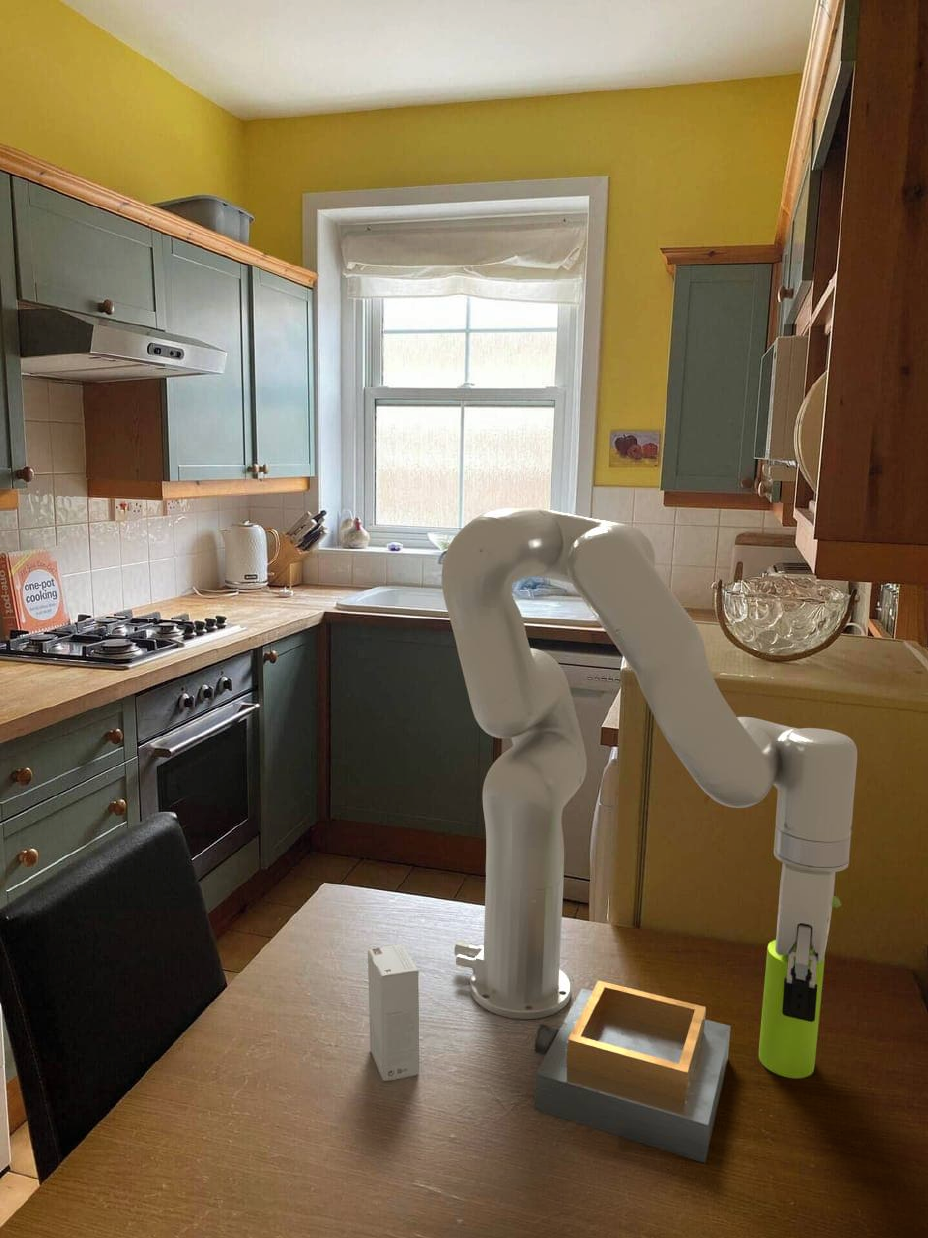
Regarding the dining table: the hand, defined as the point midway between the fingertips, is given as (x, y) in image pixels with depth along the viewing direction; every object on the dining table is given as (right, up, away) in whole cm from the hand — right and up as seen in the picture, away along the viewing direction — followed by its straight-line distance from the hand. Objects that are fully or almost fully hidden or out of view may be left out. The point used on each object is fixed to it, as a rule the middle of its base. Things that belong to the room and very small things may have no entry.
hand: (800, 993), depth 98 cm
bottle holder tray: (-20, -8, -2) cm, 22 cm away
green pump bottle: (-1, -8, +1) cm, 9 cm away
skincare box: (-45, -8, 0) cm, 45 cm away
